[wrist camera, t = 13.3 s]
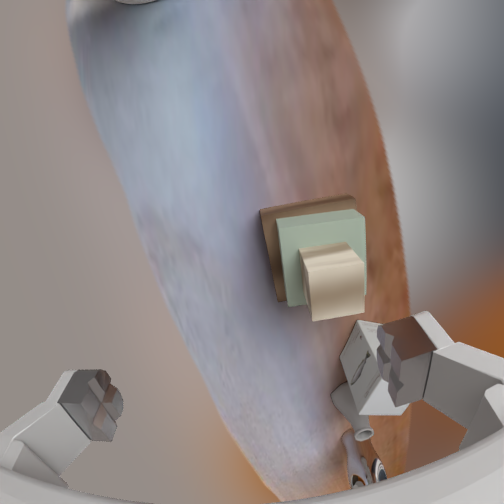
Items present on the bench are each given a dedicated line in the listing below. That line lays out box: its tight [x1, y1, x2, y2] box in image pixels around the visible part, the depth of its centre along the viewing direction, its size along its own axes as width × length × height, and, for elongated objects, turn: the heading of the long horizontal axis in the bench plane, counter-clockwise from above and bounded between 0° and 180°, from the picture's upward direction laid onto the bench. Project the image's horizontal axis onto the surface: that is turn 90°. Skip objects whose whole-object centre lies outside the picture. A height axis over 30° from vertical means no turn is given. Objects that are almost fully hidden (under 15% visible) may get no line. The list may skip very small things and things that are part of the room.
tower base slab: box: [260, 193, 357, 302], centre depth 38 cm, size 11×11×4 cm
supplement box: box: [340, 320, 410, 415], centre depth 39 cm, size 7×7×13 cm
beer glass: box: [341, 428, 387, 489], centre depth 46 cm, size 7×7×15 cm
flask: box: [330, 382, 374, 442], centre depth 44 cm, size 7×7×10 cm
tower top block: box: [276, 209, 366, 307], centre depth 34 cm, size 9×9×4 cm
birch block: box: [299, 242, 364, 322], centre depth 30 cm, size 5×5×6 cm
